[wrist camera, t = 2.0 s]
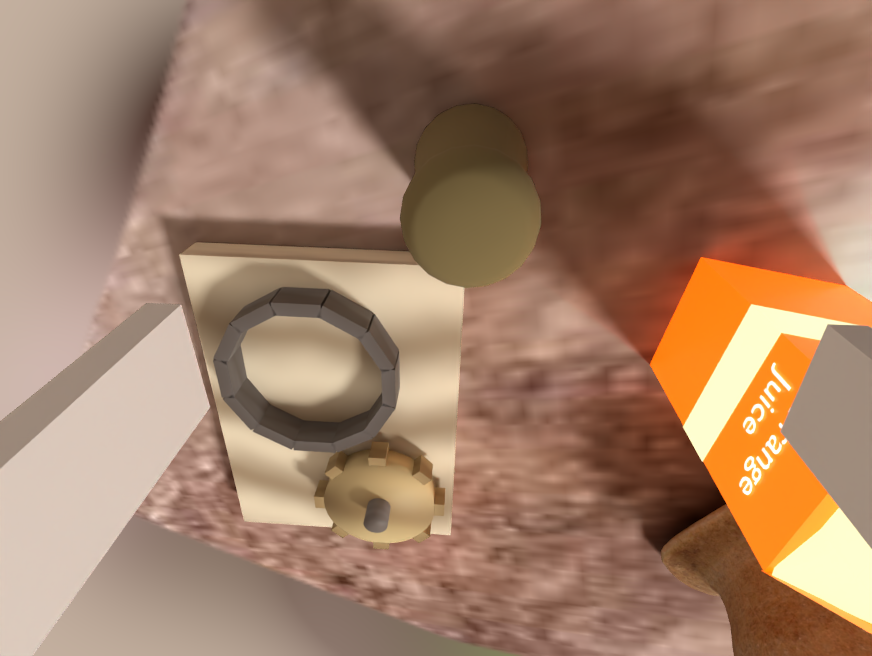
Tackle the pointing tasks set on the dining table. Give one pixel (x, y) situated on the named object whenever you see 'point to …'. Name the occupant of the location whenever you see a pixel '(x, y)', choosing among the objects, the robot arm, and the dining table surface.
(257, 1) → the dining table surface
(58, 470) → the robot arm
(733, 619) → the brown hollow flared piece
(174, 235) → the dining table surface
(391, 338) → the gear board
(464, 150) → the cork
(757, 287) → the orange juice
